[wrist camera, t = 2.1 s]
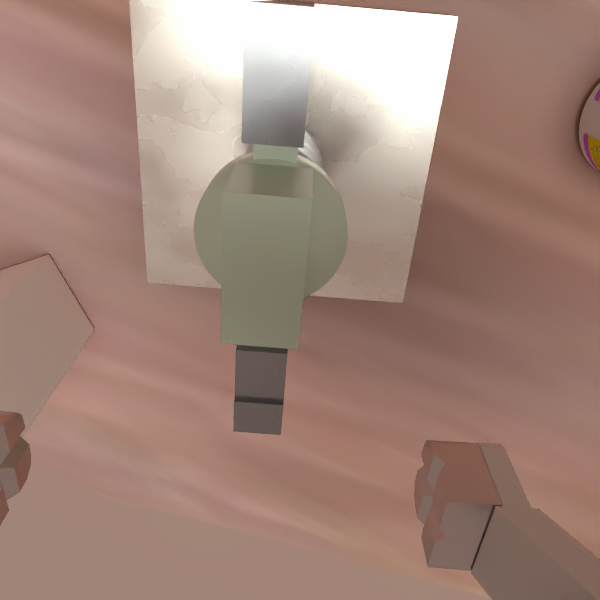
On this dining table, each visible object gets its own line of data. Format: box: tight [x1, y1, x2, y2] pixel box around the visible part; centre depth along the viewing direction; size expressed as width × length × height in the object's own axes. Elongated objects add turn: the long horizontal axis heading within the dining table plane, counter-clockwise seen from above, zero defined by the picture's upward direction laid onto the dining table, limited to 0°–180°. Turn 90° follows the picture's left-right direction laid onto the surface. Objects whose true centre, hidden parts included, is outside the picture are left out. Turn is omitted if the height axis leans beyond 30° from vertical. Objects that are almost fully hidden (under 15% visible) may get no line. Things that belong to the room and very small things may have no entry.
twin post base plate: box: [129, 0, 458, 435], centre depth 25 cm, size 16×16×14 cm
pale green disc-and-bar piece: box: [194, 144, 348, 349], centre depth 20 cm, size 6×11×5 cm, turn 176°
